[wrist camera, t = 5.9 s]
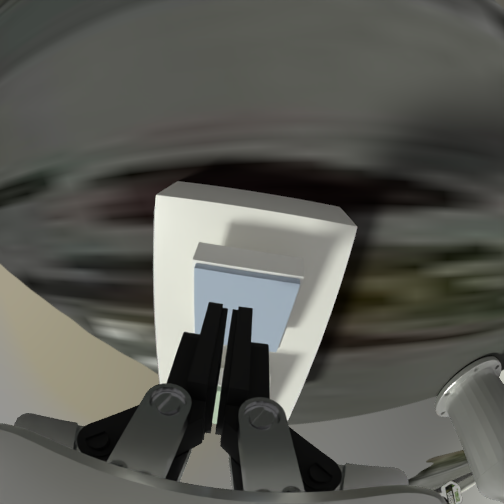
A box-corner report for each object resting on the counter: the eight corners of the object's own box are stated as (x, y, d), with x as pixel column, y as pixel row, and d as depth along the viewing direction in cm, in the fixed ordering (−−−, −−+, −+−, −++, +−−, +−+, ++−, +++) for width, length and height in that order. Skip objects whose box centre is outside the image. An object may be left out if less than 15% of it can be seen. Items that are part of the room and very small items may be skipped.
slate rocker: (302, 258, 17) (304, 282, 15) (279, 331, 21) (278, 354, 19) (198, 241, 17) (190, 264, 15) (198, 319, 21) (192, 340, 19)
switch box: (339, 206, 23) (361, 231, 17) (285, 387, 31) (287, 428, 25) (175, 180, 22) (147, 197, 17) (171, 369, 31) (157, 408, 25)
